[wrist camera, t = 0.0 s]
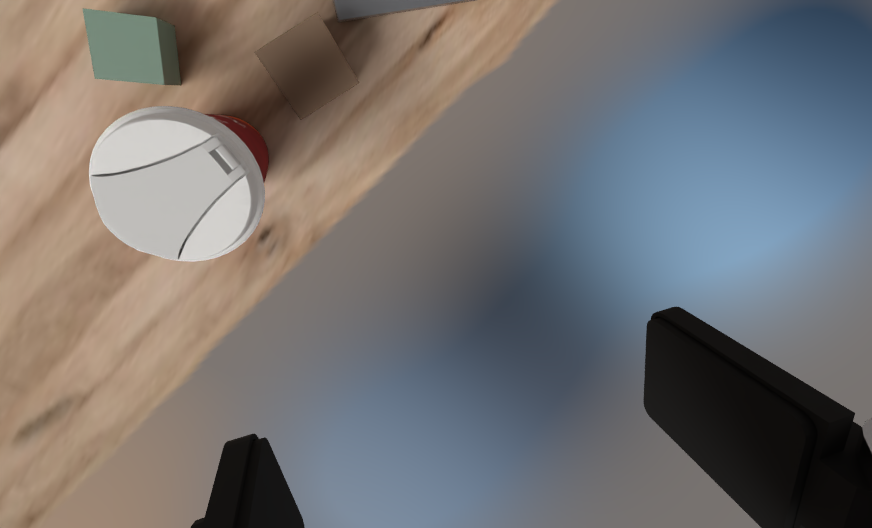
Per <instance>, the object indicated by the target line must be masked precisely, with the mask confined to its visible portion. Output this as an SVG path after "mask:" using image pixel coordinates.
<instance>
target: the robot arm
mask: <svg viewBox="0 0 872 528" xmlns="http://www.w3.org/2000/svg"><path fill="white" fill-rule="evenodd" d="M644 407H645V409H646V412H647V413H648V415H649V416H650V417H651V418H652V419H653V420H654V421H655V422H656V423H657V424H658V425H659V426H660V427H661V428H662V429H663V430H664V431H665V432H666V433H667V434H668V435H669V436H670V437H671V438H672V439H673V440H674V441H675V442H676V443H677V444H678V445H679V446H680V447H681V448H682V449H683V450H684V451H685V452H686V453H687V454H688V455H689V456H690V457H691V458H692V459H693V460H694V461H695V462H696V463H697V464H698V465H699V466H700V467H701V468H702V469H703V470H704V471H705V472H706V473H707V474H708V475H709V476H710V477H711V478H712V479H713V480H714V481H715V482H716V483H717V484H718V485H719V486H720V487H721V488H722V489H723V490H724V491H725V492H726V493H727V494H728V495H729V496H730V497H731V498H732V499H733V500H734V501H735V502H736V503H737V504H738V505H739V506H740V507H741V508H742V509H743V510H744V511H745V512H746V513H747V514H748V515H749V516H750V517H751V518H752V519H753V520H754V521H755V522H756V523H757V524H758V525H759V526H760V527H761V528H872V418H871V419H869V420H867V421H865V423H864V425H863V427H861V426H859V425H858V424H856V423H854V422H853V418H854V415H855V413H854V412H852V411H851V410H849V409H847V408H846V407H844V406H842V405H840V404H839V403H837V402H836V401H834V400H832V399H831V398H829V397H827V396H826V395H824V394H822V393H821V392H819V391H817V390H816V389H814V388H813V387H811V386H809V385H808V384H806V383H804V382H803V381H801V380H799V379H798V378H796V377H794V376H793V375H791V374H789V373H788V372H786V371H784V370H783V369H781V368H779V367H778V366H776V365H774V364H773V363H771V362H769V361H768V360H766V359H765V358H763V357H761V356H760V355H758V354H756V353H755V352H753V351H751V350H750V349H748V348H746V347H745V346H743V345H741V344H740V343H738V342H736V341H735V340H733V339H732V338H730V337H728V336H727V335H725V334H723V333H722V332H720V331H718V330H717V329H715V328H713V327H712V326H710V325H708V324H707V323H705V322H703V321H702V320H700V319H699V318H697V317H695V316H694V315H692V314H690V313H688V312H687V311H685V310H684V309H682V308H680V307H672V308H669V309H666V310H662V311H659V312H656V313H654V314H653V315H652V316H651V320H650V321H648V323H647V334H646V359H645V384H644ZM191 528H304V523H303V519H302V516H301V514H300V512H299V510H298V507H297V505H296V503H295V500H294V498H293V496H292V494H291V491H290V489H289V487H288V485H287V482H286V480H285V478H284V476H283V473H282V471H281V469H280V466H279V464H278V462H277V460H276V458H275V455H274V453H273V451H272V448H271V446H270V444H269V442H268V440H267V439H266V438H261V439H258V437H257V435H256V434H251V435H247V436H244V437H241V438H237V439H234V440H231V441H228V442H226V443H225V445H224V448H223V451H222V455H221V459H220V463H219V466H218V470H217V474H216V477H215V481H214V485H213V488H212V493H211V496H210V500H209V503H208V507H207V511H206V515H205V517H204V518H202V519H199V520H196V521H195V522H194V523H193V525H192V526H191Z"/></svg>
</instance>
